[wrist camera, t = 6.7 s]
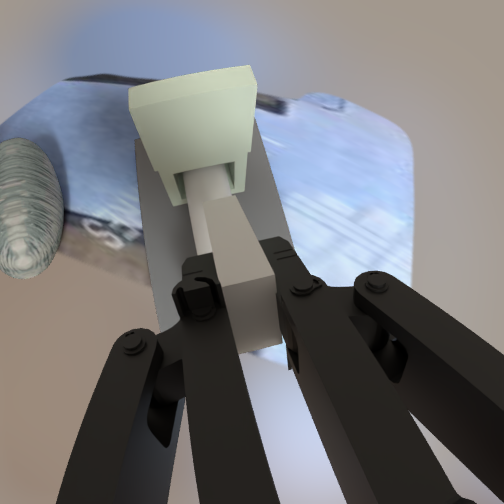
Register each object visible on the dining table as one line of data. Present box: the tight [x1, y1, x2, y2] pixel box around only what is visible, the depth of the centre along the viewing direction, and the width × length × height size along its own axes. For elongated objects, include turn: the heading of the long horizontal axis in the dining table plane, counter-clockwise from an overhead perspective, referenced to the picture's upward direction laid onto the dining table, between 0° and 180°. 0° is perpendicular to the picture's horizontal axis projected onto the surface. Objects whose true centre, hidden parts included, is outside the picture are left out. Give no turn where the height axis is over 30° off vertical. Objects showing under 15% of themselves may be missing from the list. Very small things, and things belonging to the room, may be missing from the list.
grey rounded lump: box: [0, 138, 64, 279], centre depth 24 cm, size 14×10×10 cm
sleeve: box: [129, 65, 257, 206], centre depth 19 cm, size 6×4×12 cm, turn 104°
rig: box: [135, 117, 294, 333], centre depth 24 cm, size 12×20×9 cm, turn 14°
